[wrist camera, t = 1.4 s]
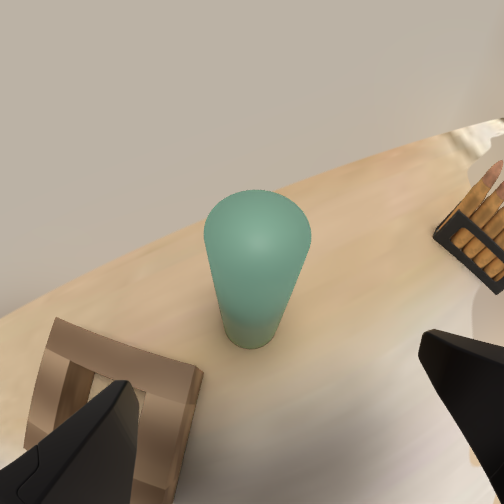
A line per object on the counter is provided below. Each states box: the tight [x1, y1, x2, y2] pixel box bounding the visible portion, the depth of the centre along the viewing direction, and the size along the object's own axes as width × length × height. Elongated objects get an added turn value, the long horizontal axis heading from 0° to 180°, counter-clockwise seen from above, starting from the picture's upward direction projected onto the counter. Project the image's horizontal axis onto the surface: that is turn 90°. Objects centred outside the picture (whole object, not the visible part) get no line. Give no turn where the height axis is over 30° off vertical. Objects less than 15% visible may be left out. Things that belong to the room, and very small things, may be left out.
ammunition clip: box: [433, 160, 504, 295], centre depth 20 cm, size 11×2×12 cm, turn 48°
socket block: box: [23, 317, 204, 504], centre depth 16 cm, size 11×11×4 cm
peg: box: [204, 190, 311, 349], centre depth 16 cm, size 4×4×12 cm
